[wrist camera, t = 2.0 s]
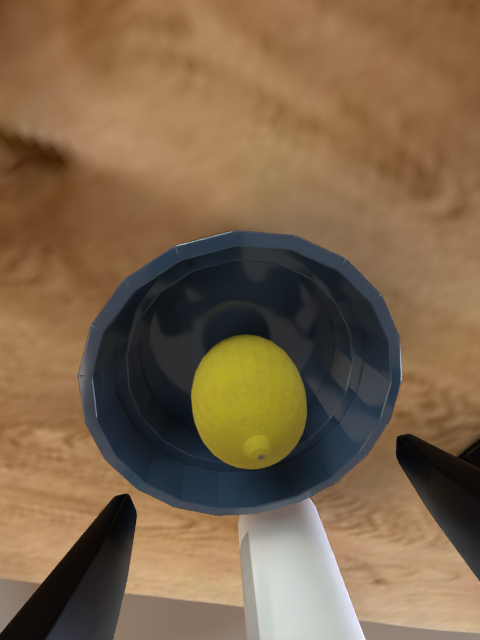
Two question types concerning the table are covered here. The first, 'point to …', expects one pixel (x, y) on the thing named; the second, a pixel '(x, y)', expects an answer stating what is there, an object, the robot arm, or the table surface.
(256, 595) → the spray bottle
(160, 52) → the table surface
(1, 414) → the table surface
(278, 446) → the lemon
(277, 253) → the bowl
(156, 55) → the table surface
